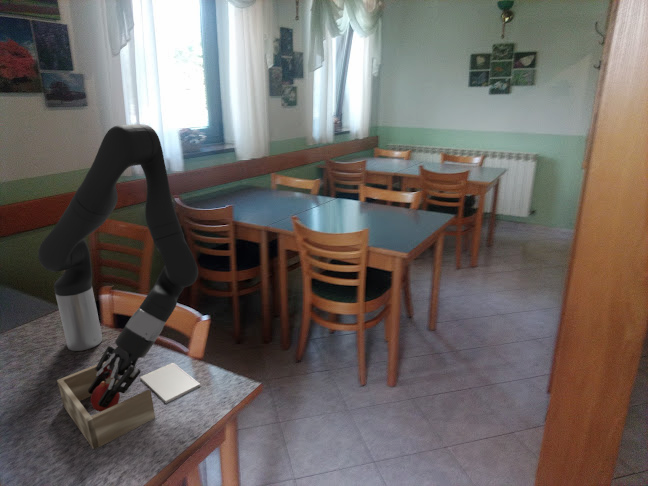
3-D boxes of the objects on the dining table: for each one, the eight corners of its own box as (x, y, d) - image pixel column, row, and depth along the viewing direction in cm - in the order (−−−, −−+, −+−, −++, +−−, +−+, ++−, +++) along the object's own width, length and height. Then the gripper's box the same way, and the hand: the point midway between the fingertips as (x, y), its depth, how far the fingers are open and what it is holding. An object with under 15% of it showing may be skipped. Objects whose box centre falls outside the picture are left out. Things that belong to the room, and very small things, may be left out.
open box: (63, 405, 102) (57, 380, 100) (119, 381, 111) (115, 357, 109) (93, 449, 89) (87, 421, 87) (155, 417, 98) (150, 391, 96)
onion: (91, 422, 97) (84, 391, 94) (97, 406, 102) (90, 376, 100) (119, 417, 98) (113, 386, 96) (123, 401, 103) (118, 372, 101)
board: (140, 379, 112) (140, 377, 112) (173, 364, 118) (173, 362, 118) (166, 403, 102) (165, 401, 102) (200, 385, 108) (200, 383, 108)
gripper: (115, 316, 104) (70, 381, 100) (141, 337, 94) (93, 410, 90) (140, 328, 109) (99, 390, 105) (168, 348, 100) (123, 418, 95)
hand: (96, 399), depth 98 cm, fingers closed on onion, 5 cm apart
